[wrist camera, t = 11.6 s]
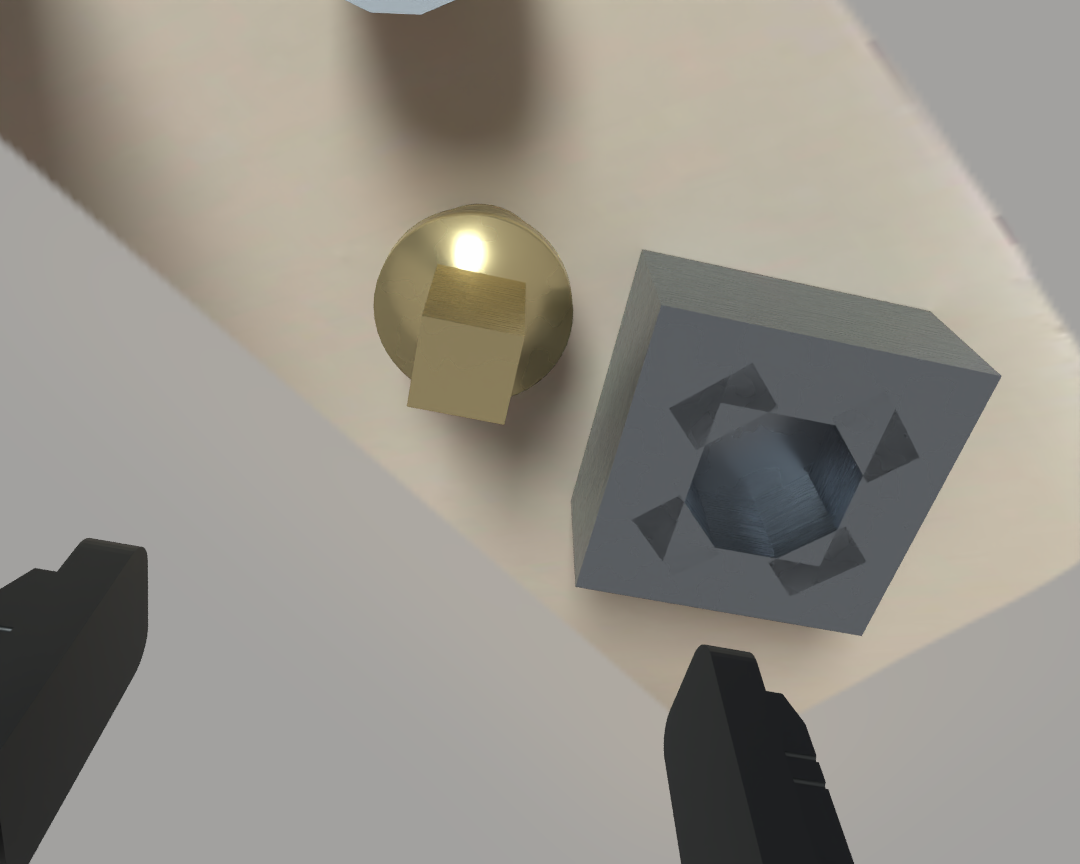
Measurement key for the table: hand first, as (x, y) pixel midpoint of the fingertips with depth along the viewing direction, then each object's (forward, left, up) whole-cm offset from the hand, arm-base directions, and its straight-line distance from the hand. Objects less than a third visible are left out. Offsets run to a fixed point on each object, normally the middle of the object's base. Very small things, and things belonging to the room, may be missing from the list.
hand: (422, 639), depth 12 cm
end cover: (0, -2, -23) cm, 23 cm away
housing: (+12, -6, -23) cm, 26 cm away
